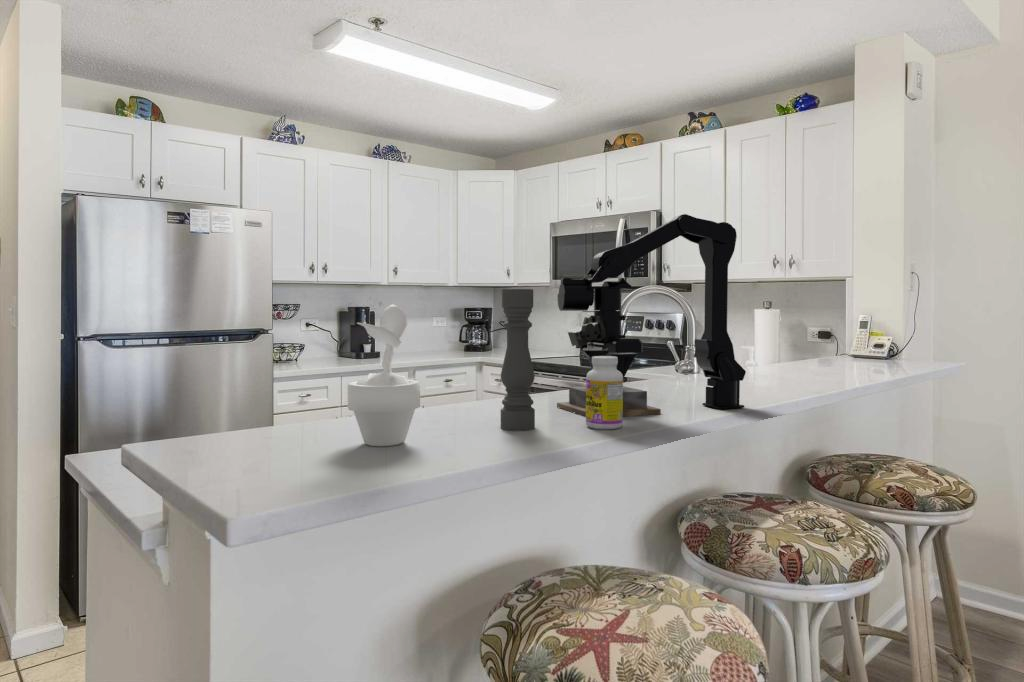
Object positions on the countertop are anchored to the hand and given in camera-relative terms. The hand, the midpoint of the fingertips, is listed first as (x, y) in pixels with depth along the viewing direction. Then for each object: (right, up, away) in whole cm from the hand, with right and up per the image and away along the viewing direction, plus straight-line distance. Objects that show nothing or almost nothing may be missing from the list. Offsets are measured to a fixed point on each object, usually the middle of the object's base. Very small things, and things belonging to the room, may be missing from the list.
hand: (607, 384), depth 139 cm
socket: (0, -6, 0) cm, 6 cm away
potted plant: (-41, -7, -34) cm, 54 cm away
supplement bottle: (-3, -7, -19) cm, 21 cm away
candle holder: (-19, -7, -20) cm, 28 cm away
